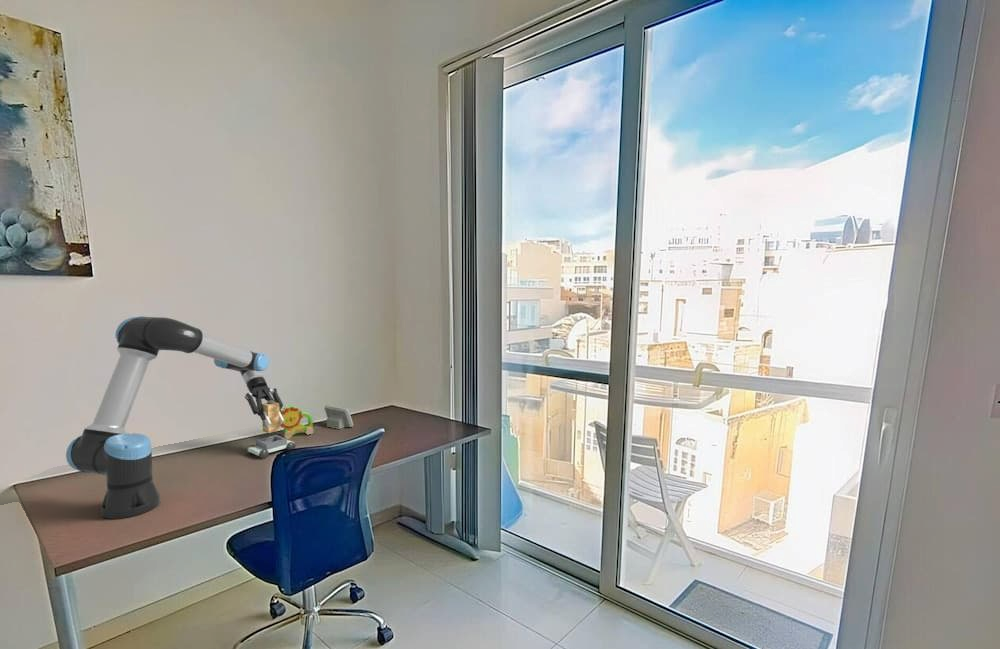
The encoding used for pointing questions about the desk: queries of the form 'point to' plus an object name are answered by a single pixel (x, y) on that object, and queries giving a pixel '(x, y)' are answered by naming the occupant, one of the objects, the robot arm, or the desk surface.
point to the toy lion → (295, 422)
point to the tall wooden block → (271, 416)
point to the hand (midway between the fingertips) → (275, 423)
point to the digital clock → (338, 417)
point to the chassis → (270, 445)
